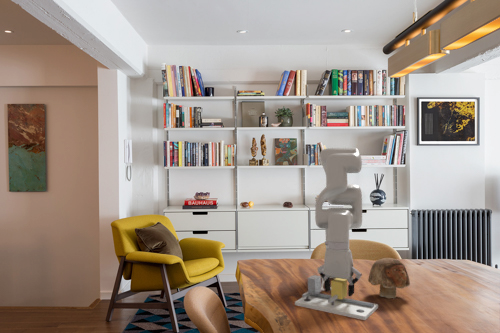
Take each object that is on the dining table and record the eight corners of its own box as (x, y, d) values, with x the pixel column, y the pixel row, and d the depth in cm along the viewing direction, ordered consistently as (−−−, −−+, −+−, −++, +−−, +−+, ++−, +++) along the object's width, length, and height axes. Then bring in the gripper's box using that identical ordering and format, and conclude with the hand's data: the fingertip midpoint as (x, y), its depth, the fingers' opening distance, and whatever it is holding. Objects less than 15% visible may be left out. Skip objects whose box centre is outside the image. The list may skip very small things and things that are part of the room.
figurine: (331, 287, 163) (330, 258, 163) (336, 290, 159) (336, 261, 159) (315, 289, 160) (315, 260, 160) (320, 292, 156) (320, 262, 156)
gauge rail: (311, 293, 152) (311, 274, 152) (375, 305, 137) (375, 284, 137) (297, 301, 142) (297, 281, 142) (364, 315, 128) (364, 293, 128)
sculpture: (391, 306, 139) (390, 264, 139) (359, 294, 153) (359, 256, 153) (419, 299, 146) (419, 260, 146) (387, 288, 160) (387, 252, 160)
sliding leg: (336, 297, 146) (336, 277, 146) (347, 299, 143) (346, 279, 144) (323, 305, 136) (323, 285, 136) (334, 308, 134) (334, 287, 134)
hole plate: (311, 294, 153) (311, 291, 153) (378, 307, 138) (378, 304, 138) (295, 305, 142) (294, 301, 142) (365, 320, 127) (365, 316, 127)
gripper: (312, 244, 145) (313, 291, 144) (358, 250, 135) (358, 300, 134) (321, 241, 151) (321, 286, 151) (365, 246, 141) (365, 294, 141)
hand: (339, 292), depth 143 cm, fingers open, 8 cm apart
